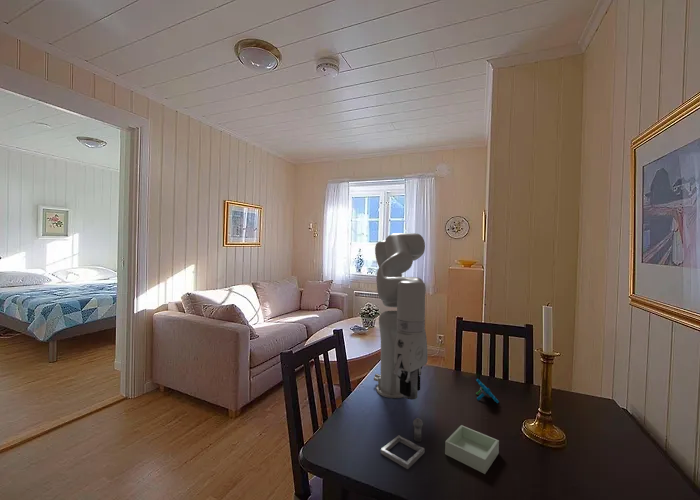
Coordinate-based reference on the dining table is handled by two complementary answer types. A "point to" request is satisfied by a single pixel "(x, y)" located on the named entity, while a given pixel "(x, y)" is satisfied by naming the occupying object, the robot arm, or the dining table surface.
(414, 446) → the grey piece
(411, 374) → the grey cylinder
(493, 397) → the blue plastic angled piece
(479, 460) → the bin
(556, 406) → the dining table surface
